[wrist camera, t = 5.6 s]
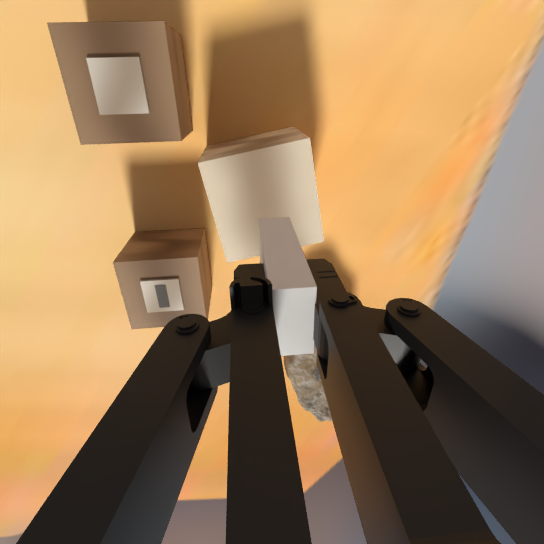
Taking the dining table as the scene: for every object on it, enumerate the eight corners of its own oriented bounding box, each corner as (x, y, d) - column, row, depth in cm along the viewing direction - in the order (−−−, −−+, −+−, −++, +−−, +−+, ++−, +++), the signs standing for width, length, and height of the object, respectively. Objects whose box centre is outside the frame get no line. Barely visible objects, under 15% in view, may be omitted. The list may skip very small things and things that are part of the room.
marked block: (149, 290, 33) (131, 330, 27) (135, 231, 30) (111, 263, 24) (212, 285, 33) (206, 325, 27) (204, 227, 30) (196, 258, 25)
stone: (327, 288, 34) (343, 335, 28) (365, 366, 40) (385, 418, 33) (263, 315, 35) (265, 365, 29) (308, 386, 41) (318, 441, 35)
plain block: (229, 227, 30) (227, 262, 24) (206, 145, 27) (197, 163, 21) (306, 210, 30) (324, 241, 24) (293, 126, 27) (310, 137, 21)
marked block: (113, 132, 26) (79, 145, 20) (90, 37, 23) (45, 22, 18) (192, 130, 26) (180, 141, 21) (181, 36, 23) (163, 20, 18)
